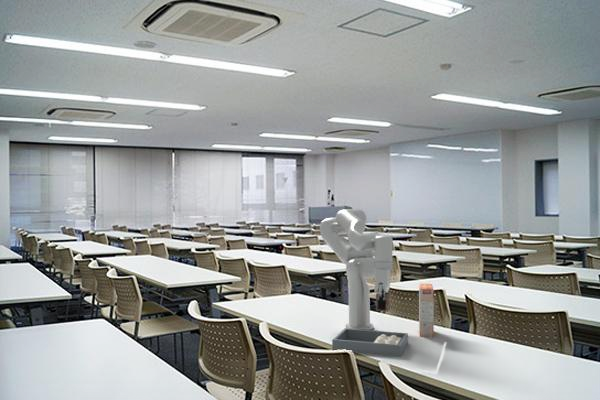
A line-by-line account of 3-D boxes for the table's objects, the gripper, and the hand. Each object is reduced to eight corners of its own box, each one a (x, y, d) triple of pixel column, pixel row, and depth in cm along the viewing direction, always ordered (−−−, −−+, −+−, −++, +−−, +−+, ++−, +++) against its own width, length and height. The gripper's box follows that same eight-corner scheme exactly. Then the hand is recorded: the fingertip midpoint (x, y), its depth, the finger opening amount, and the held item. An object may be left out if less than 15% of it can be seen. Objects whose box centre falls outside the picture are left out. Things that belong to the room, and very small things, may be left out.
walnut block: (378, 308, 223) (378, 291, 223) (390, 309, 222) (390, 292, 221) (375, 310, 219) (376, 294, 218) (387, 311, 217) (388, 295, 217)
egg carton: (378, 343, 209) (378, 332, 209) (401, 345, 206) (401, 333, 205) (373, 351, 198) (372, 339, 198) (396, 353, 195) (396, 341, 195)
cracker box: (434, 339, 218) (434, 288, 218) (419, 338, 219) (419, 288, 219) (432, 330, 231) (432, 283, 231) (419, 329, 233) (418, 283, 233)
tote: (344, 340, 217) (344, 328, 217) (408, 345, 208) (407, 333, 208) (332, 352, 200) (332, 339, 200) (400, 359, 191) (400, 345, 191)
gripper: (378, 261, 229) (378, 302, 229) (370, 267, 213) (369, 311, 213) (395, 262, 226) (395, 304, 227) (388, 268, 210) (388, 313, 211)
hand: (383, 307), depth 220 cm, fingers closed on walnut block, 5 cm apart
